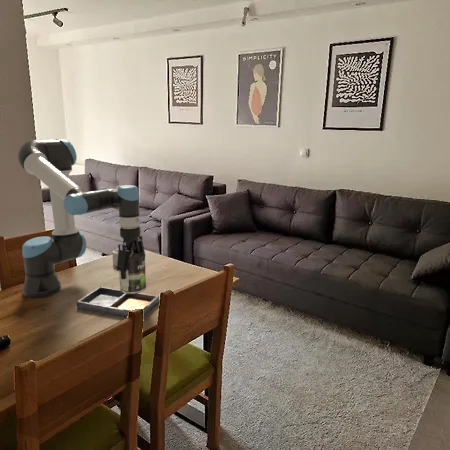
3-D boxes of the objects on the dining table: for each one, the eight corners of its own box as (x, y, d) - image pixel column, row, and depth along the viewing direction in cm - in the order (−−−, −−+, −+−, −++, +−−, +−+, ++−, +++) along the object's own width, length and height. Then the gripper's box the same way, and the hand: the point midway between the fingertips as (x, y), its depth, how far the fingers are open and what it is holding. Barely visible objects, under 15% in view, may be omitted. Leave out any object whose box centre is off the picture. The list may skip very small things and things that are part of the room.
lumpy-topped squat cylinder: (124, 259, 210) (123, 243, 208) (142, 263, 204) (142, 247, 202) (110, 265, 201) (109, 249, 199) (129, 269, 195) (128, 253, 193)
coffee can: (150, 284, 157) (149, 251, 153) (140, 295, 147) (138, 260, 144) (126, 282, 159) (125, 249, 155) (115, 292, 149) (113, 258, 146)
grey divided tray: (77, 308, 154) (76, 301, 153) (100, 292, 169) (100, 286, 168) (140, 320, 146) (140, 313, 145) (159, 302, 160) (159, 296, 160)
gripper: (122, 235, 135) (125, 293, 141) (152, 220, 156) (154, 271, 162) (103, 233, 137) (107, 290, 143) (136, 218, 158) (138, 269, 164)
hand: (132, 280), depth 152 cm, fingers closed on coffee can, 10 cm apart
